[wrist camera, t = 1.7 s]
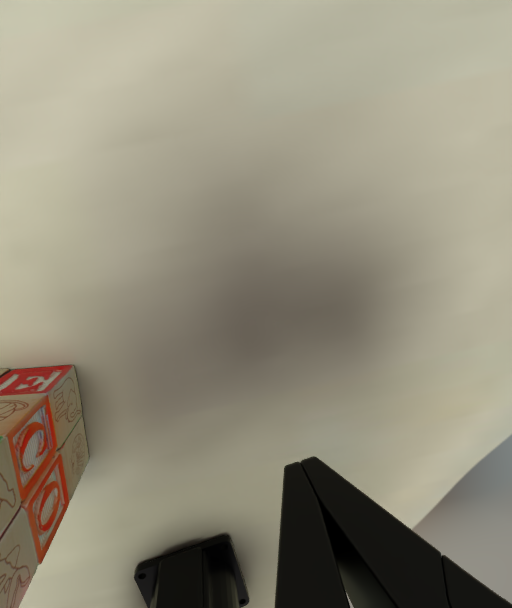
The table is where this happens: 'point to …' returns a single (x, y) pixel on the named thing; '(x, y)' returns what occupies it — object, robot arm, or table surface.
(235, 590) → the robot arm
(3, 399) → the stack of blocks
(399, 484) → the table surface
